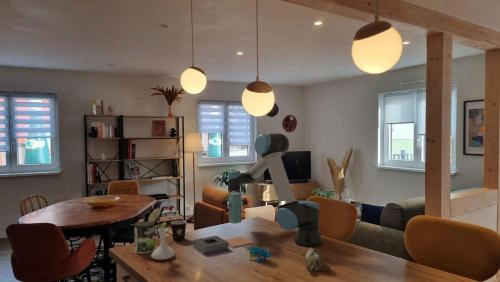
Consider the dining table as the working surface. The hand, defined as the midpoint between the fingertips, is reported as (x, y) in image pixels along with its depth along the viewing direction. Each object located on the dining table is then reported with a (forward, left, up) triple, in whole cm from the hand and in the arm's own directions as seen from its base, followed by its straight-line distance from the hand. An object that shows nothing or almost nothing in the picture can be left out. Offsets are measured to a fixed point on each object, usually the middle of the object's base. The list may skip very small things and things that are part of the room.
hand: (235, 206), depth 178 cm
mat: (+5, -4, -22) cm, 23 cm away
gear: (-24, 0, -22) cm, 33 cm away
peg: (+4, -2, -10) cm, 11 cm away
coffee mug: (+29, +23, -22) cm, 43 cm away
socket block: (+4, +13, -22) cm, 26 cm away
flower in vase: (+5, +39, -22) cm, 45 cm away
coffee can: (+21, +43, -22) cm, 53 cm away
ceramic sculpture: (-46, -15, -22) cm, 53 cm away
